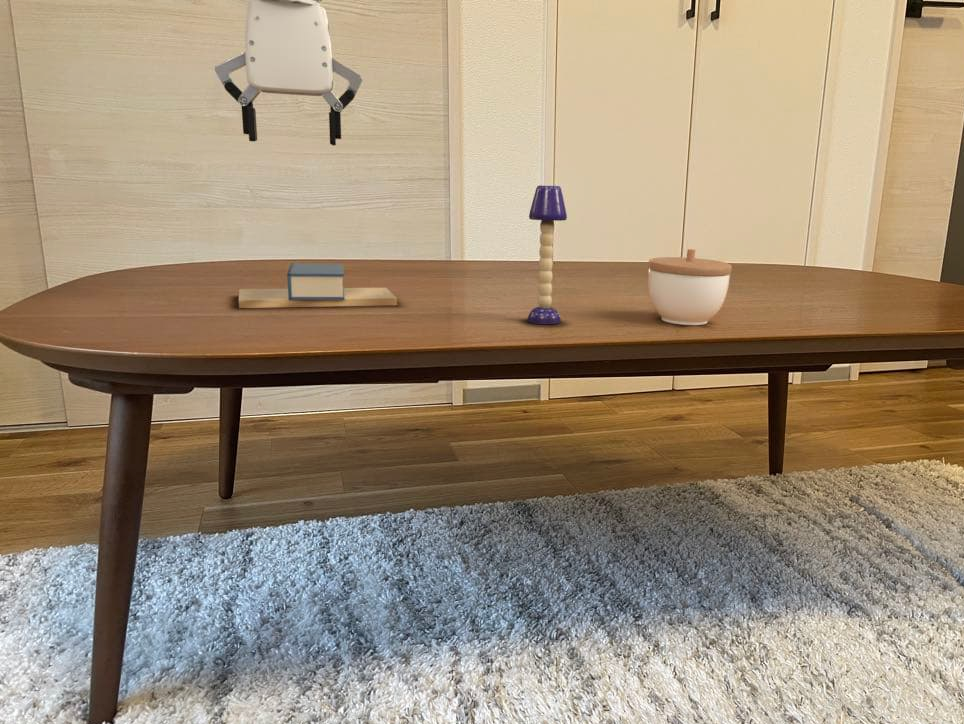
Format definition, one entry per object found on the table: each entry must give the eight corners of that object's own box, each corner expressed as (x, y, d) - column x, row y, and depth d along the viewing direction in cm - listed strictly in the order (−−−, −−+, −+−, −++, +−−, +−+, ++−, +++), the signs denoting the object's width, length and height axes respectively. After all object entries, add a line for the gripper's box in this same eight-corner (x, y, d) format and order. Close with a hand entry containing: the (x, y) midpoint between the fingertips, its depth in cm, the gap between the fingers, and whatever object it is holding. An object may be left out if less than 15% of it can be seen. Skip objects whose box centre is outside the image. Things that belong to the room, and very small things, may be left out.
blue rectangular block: (292, 287, 109) (290, 263, 108) (343, 287, 111) (342, 263, 110) (288, 299, 100) (287, 273, 99) (344, 299, 102) (343, 273, 101)
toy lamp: (517, 319, 99) (522, 184, 94) (543, 316, 102) (549, 184, 97) (544, 326, 96) (550, 186, 91) (569, 322, 99) (577, 186, 94)
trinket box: (661, 310, 110) (667, 243, 108) (735, 320, 105) (743, 250, 103) (630, 321, 102) (636, 248, 99) (709, 332, 96) (718, 256, 94)
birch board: (239, 308, 98) (238, 300, 98) (239, 296, 106) (239, 288, 106) (397, 305, 105) (397, 298, 105) (386, 294, 113) (386, 287, 113)
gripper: (359, 5, 99) (362, 147, 104) (213, -9, 94) (224, 140, 99) (361, -7, 92) (364, 146, 97) (204, -22, 87) (216, 139, 92)
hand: (293, 143), depth 98 cm, fingers open, 9 cm apart
